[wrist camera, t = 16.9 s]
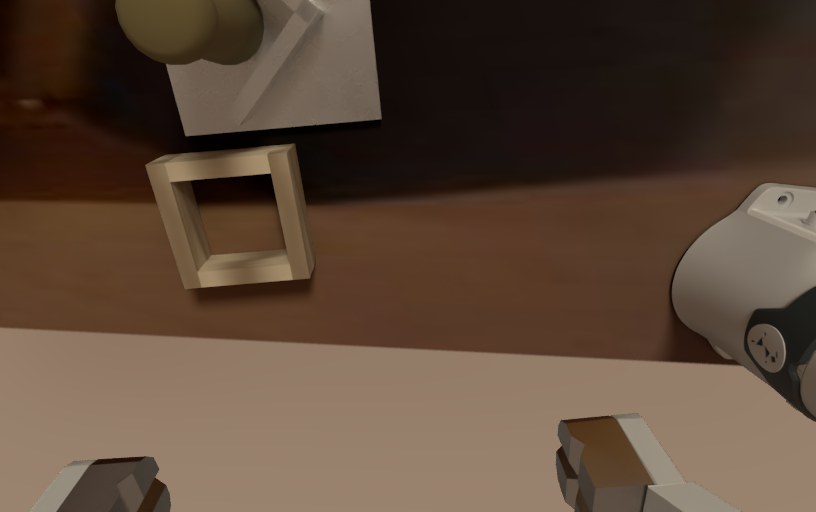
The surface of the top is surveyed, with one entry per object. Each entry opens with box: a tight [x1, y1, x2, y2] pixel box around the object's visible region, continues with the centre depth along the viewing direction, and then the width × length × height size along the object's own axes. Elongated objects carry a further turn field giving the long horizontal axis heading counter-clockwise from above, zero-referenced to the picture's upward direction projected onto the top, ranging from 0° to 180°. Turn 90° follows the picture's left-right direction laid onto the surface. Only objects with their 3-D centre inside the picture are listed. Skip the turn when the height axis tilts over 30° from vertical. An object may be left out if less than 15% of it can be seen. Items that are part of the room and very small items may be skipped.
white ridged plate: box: [166, 0, 382, 136], centre depth 34 cm, size 16×16×4 cm
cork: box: [116, 0, 264, 65], centre depth 30 cm, size 6×6×11 cm
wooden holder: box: [145, 144, 316, 289], centre depth 40 cm, size 11×11×4 cm
